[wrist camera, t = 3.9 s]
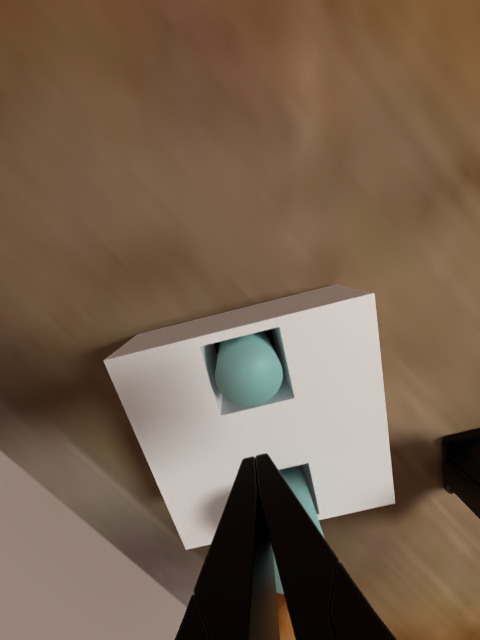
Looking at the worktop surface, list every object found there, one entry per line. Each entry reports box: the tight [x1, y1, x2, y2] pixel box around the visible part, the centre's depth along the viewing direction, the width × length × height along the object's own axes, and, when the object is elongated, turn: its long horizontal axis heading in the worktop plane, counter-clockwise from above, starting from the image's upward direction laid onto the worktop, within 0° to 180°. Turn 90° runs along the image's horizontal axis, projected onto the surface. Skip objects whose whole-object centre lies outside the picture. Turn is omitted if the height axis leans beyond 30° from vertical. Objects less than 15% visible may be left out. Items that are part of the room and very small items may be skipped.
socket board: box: [103, 284, 395, 550], centre depth 17 cm, size 16×16×5 cm
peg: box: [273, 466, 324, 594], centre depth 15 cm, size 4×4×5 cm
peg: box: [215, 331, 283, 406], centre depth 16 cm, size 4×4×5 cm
